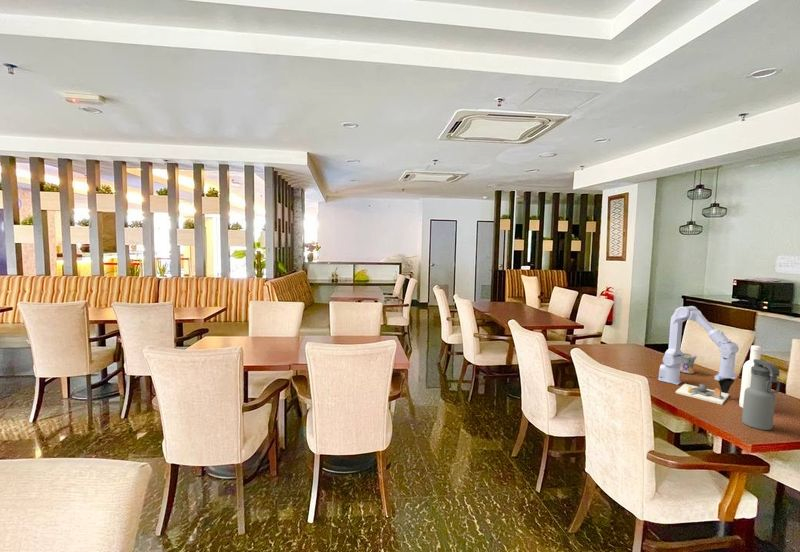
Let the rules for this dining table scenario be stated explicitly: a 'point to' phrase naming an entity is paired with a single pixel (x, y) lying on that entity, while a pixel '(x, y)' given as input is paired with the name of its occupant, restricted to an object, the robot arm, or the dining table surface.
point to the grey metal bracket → (709, 392)
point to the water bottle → (760, 396)
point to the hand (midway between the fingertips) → (724, 392)
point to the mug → (687, 363)
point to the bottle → (748, 371)
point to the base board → (687, 391)
